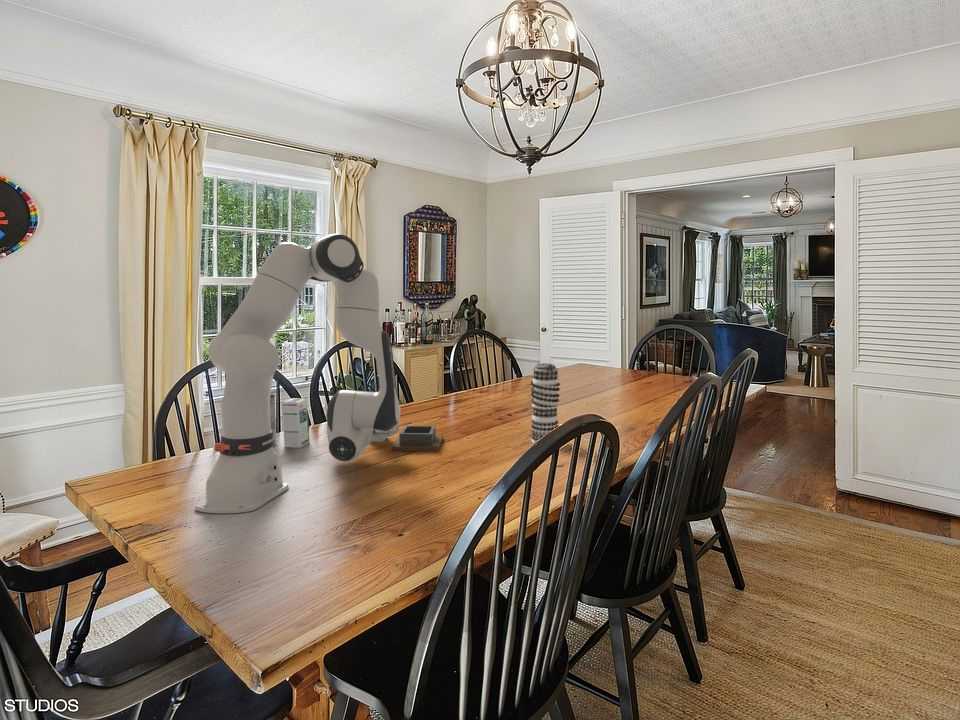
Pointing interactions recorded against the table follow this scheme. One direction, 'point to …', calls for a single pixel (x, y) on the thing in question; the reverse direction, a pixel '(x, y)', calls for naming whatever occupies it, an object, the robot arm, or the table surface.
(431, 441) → the dark grey square holder
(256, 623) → the table surface
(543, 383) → the decorative candle
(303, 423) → the syrup box
